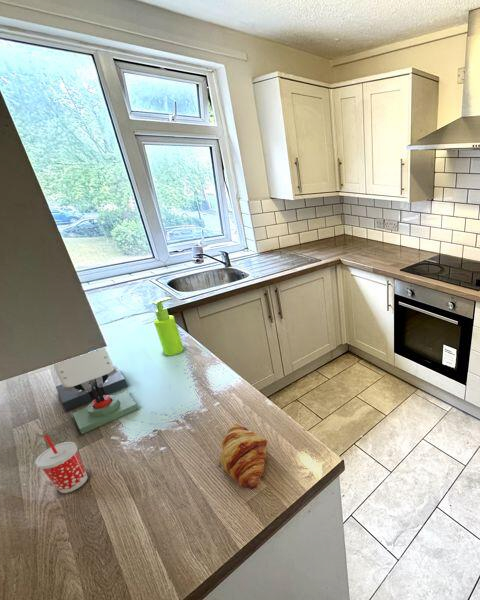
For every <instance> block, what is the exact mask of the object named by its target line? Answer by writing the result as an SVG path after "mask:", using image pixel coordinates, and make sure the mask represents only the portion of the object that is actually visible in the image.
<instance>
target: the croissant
mask: <svg viewBox="0 0 480 600" xmlns="http://www.w3.org/2000/svg"><path fill="white" fill-rule="evenodd" d="M226 434H227V435H226V436H225V437H224V438H223V440H222V442H221V448H222V450H221V452H220V455H219V458H218V460H219V464H220V466H221V467H222V469H223V471H224V472H225V473H227V475H228V476H230V477H231V478H232V480H234V481H235V482H236V483H238V484H239V486H240V487H241V488H245V489H249V490H254V489H255V488H256V489H257V487H258V486H259V484H260V481H261V480H260V479H261V477H262V475H263V474H264V472H265V464H266V461H267V445H268V440H267V438H265V437H263V436H261V435H258V434H257V433H255V432H254V431H251V430H249V429H248V428H246V427H245V426H242V425H241V424H239V423H235V424H234V425H232V427H231V428H230V429H229V428H228V430H227V432H226Z"/></svg>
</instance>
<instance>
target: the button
mask: <svg viewBox="0 0 480 600" xmlns="http://www.w3.org/2000/svg"><path fill="white" fill-rule="evenodd" d="M103 397H104V399H105V400H103V401H101V400H100V401H99V402H98V403H97V402H96V400H95V399H94V400H93V401H91V403H92V404H93V406H94V408H95V409H99V408H103V407H105V406H107V405H109V404H110V403H111V399H110V397H109V394H108V395H104V396H103ZM99 399H100V398H99Z"/></svg>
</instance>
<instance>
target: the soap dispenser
mask: <svg viewBox="0 0 480 600" xmlns="http://www.w3.org/2000/svg"><path fill="white" fill-rule="evenodd" d="M172 300H173V298H171V297H163V298H159V299H157V300H155V301H152V305H156V309H155V311H154V313H155V315H156V318H155V319H154V320H153V324H154V327H155V330H156V332H157V335H158V337H159V338H158V339H159V341H160V344H161V347H162V350H163V353H164V355H166V356H175V355H177V354H180V353H182V352H183V351H184V345H183V342H182V339H181V335H180V333H179V329H178V326H177V322H176V319H175V316H174V315H170V314H169V311H168V308H166V307H164V305H163V303H164V302H168V301H172Z"/></svg>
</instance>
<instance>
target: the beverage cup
mask: <svg viewBox="0 0 480 600" xmlns="http://www.w3.org/2000/svg"><path fill="white" fill-rule="evenodd" d="M43 437H44V439H45V440H46V442H47V444H48V446H49V448H47V449H46V450H44V451H43V452H42V453H41V454H39V455H38V456H37V458H36V459H35V465H36V466H37V468H38V469H40V470H42V472H43V473H44V474H45V475H46V477H47V478H48V479H49V480H50V482H51V483H52V484H53V485H54V487H55V488H56V489H57V490H58V492H60V493H62V494H68V493H71V492H73V491H75V490H77V489H79V488H80V487H82V486H83V485H84V484H85V483H86V482H87V480H88V474H87V471H86V469H85V466H84V464H83V462H82V459H81V456H80V454H79V452H78V445H77V443H75V442H73V441H64V442H61V443H57V444H55V445H54V443H53V441H52V440H51V438H50V437H49V435H48V434H44V436H43Z"/></svg>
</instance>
